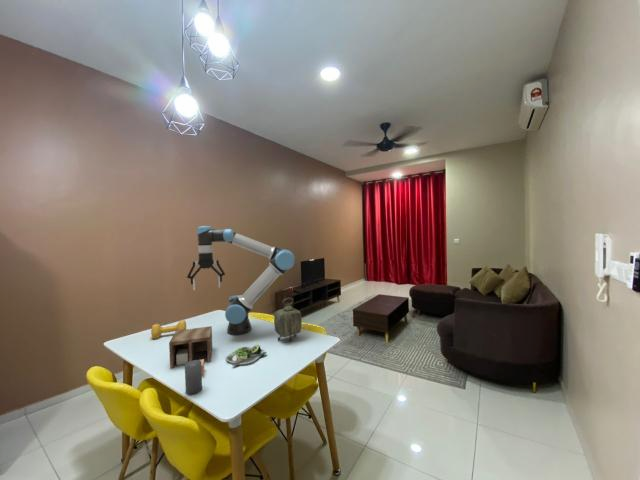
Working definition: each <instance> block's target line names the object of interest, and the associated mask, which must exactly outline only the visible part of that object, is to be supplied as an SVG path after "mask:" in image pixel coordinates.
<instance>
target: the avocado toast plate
mask: <svg viewBox="0 0 640 480" xmlns="http://www.w3.org/2000/svg"><path fill="white" fill-rule="evenodd" d="M266 354H267V351H264V350H263V349H261V345H259V344H255V345H253V347H252V346H243V347H242V346H241V347H239V348H237V349H235V350H234V351H232V352H231V353H229V354H227V356H225V360H226V362H227V363H229V364H230V365H232V366H233V367H235V366H244V365H245V366H246V365H248V364H253V363H254V362H256V361H257V360H259V359H260V358H261V357H262V356H264V355H266ZM234 357H236V360H233V359H234Z"/></svg>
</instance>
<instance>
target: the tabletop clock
mask: <svg viewBox="0 0 640 480" xmlns="http://www.w3.org/2000/svg"><path fill="white" fill-rule="evenodd" d="M286 300H292V301H291V302H286V303H284V302H285V301H286ZM281 302H282V305H284V307H283V308H281V309H278V310H276V311H275V313H274V318H273V321H274V322H273V324H274V326H273V327H274V331H275V332H276V334H277V335H279V337H277V341H280V340H281V338H287V337H289V340H288V341H289V342H292V341H293V339H292V336H294V337H297V335H298V334H300V333H301V332H302V323H303V322H302V321H303V320H302V313H301V310H298V309H297V308H294V307H292V306H291V305H292V304H293V303H294V299H293V298H292V297H286V298H284V299H283V300H282V301H281Z"/></svg>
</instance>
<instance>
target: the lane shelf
mask: <svg viewBox="0 0 640 480" xmlns="http://www.w3.org/2000/svg"><path fill="white" fill-rule="evenodd" d="M212 327H213V326H202V327H196V328H195V327H194V328H193V327H192V328H188V329H187V328H186V330H178V331H174V332H173V335H172V337H171V339H170V341H169V343H168V347H169V348H168V349H169V369H174V367H175V364H176V354H177V352H178V350H181V349H187V348H189V361H188V362H190V361H193V360H195V356H196V353H198V352H204V351H206V352H207V363H210V362H211V361H212V353H213V330H212V329H213V328H212Z"/></svg>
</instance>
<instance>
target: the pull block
mask: <svg viewBox="0 0 640 480" xmlns="http://www.w3.org/2000/svg"><path fill="white" fill-rule="evenodd" d="M204 373H205V359H204V358H203V359H194V360H193V361H190V362H189V361H188V362H187V363H185V364H184V379H185V383H184V384H185V394H186V395H187V396H192V395H197V394H198V393H200V392H201V391H202V390H203V377H204Z"/></svg>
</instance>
